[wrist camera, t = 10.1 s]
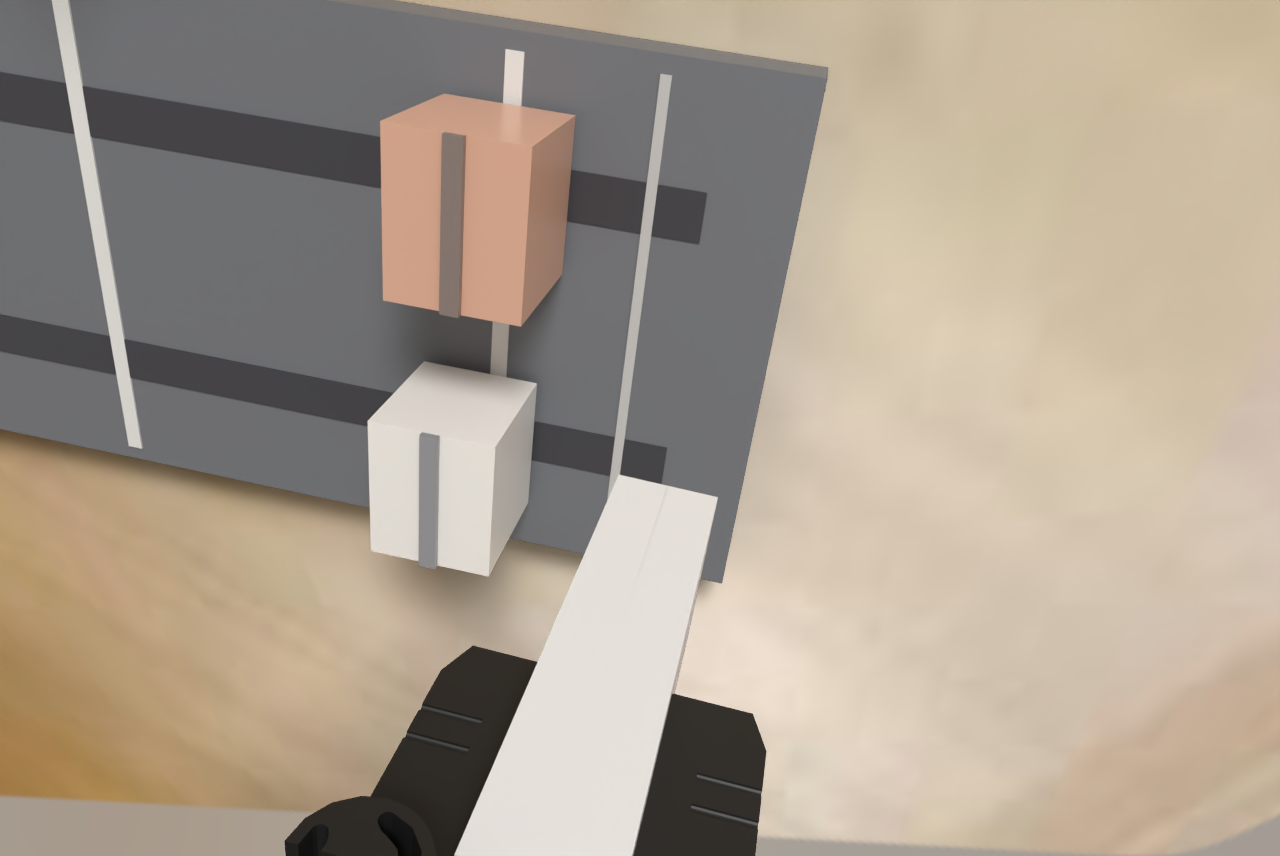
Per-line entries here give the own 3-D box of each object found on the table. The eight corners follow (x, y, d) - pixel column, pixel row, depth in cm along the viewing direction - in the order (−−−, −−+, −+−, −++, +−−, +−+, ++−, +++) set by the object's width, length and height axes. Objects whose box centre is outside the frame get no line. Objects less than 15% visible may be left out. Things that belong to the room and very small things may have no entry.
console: (-92, 376, 36) (-140, 400, 34) (-232, -97, 28) (-304, -98, 26) (727, 548, 33) (721, 584, 31) (828, 67, 25) (827, 78, 23)
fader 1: (441, 252, 27) (379, 303, 23) (444, 93, 25) (376, 122, 21) (562, 274, 27) (518, 329, 23) (575, 115, 24) (530, 148, 21)
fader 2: (423, 480, 31) (368, 555, 27) (424, 361, 29) (364, 424, 25) (528, 502, 31) (486, 580, 27) (536, 383, 28) (493, 450, 25)
